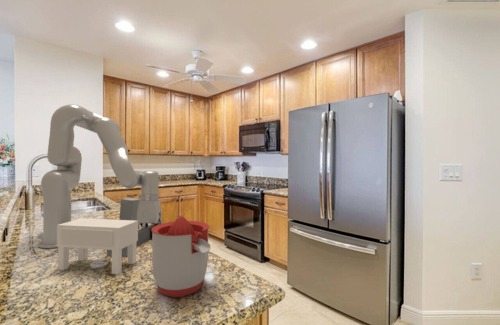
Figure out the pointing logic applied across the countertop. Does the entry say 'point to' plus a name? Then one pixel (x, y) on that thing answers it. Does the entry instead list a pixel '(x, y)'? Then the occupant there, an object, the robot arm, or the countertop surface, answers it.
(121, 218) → the skincare box
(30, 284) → the countertop surface
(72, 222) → the white footstool
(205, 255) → the citrus juicer
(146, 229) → the dark grey bar
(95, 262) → the disc
